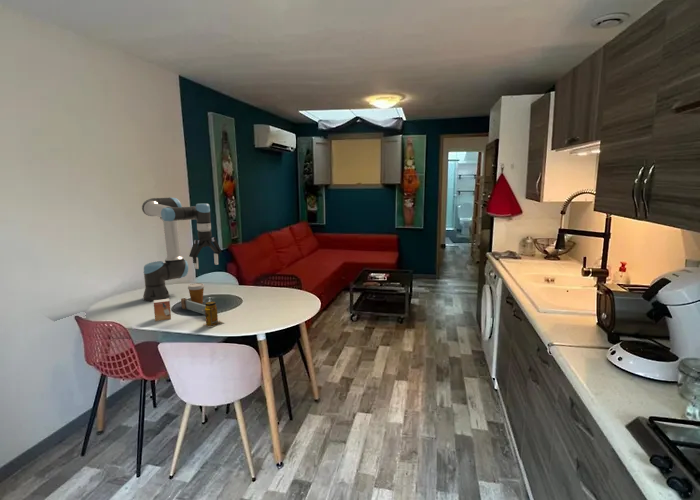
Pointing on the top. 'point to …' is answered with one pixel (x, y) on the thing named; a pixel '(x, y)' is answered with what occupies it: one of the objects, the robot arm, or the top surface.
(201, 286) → the disposable coffee cup
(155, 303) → the small box
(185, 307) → the brown upright pieces
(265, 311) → the top surface
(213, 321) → the condiment
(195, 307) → the door
